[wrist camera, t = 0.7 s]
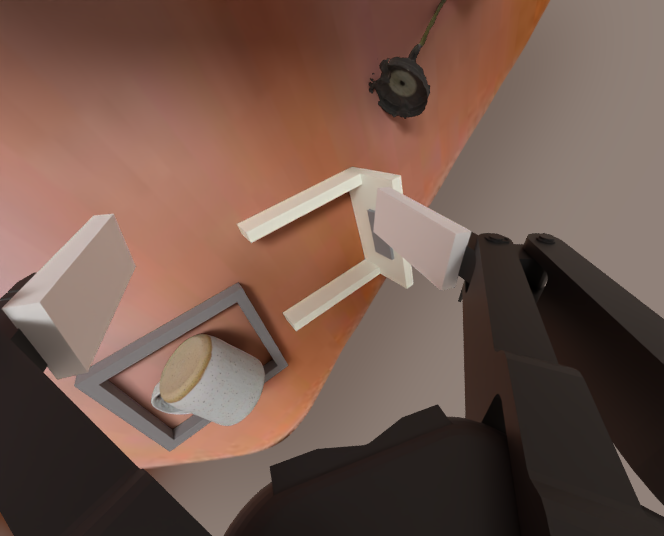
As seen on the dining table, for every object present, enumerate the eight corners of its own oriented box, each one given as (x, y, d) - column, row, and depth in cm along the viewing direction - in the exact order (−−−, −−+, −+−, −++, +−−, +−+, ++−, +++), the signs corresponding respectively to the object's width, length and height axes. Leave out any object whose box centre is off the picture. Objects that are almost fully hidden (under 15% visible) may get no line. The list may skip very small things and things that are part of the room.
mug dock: (236, 224, 29) (265, 249, 23) (352, 166, 34) (400, 175, 28) (285, 318, 37) (316, 356, 31) (372, 261, 42) (413, 284, 36)
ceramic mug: (200, 316, 30) (215, 362, 25) (253, 345, 36) (276, 387, 30) (127, 392, 29) (126, 458, 24) (193, 410, 35) (205, 467, 29)
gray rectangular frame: (76, 374, 26) (74, 386, 25) (238, 282, 31) (242, 288, 30) (168, 440, 34) (169, 451, 33) (283, 358, 40) (288, 365, 38)
